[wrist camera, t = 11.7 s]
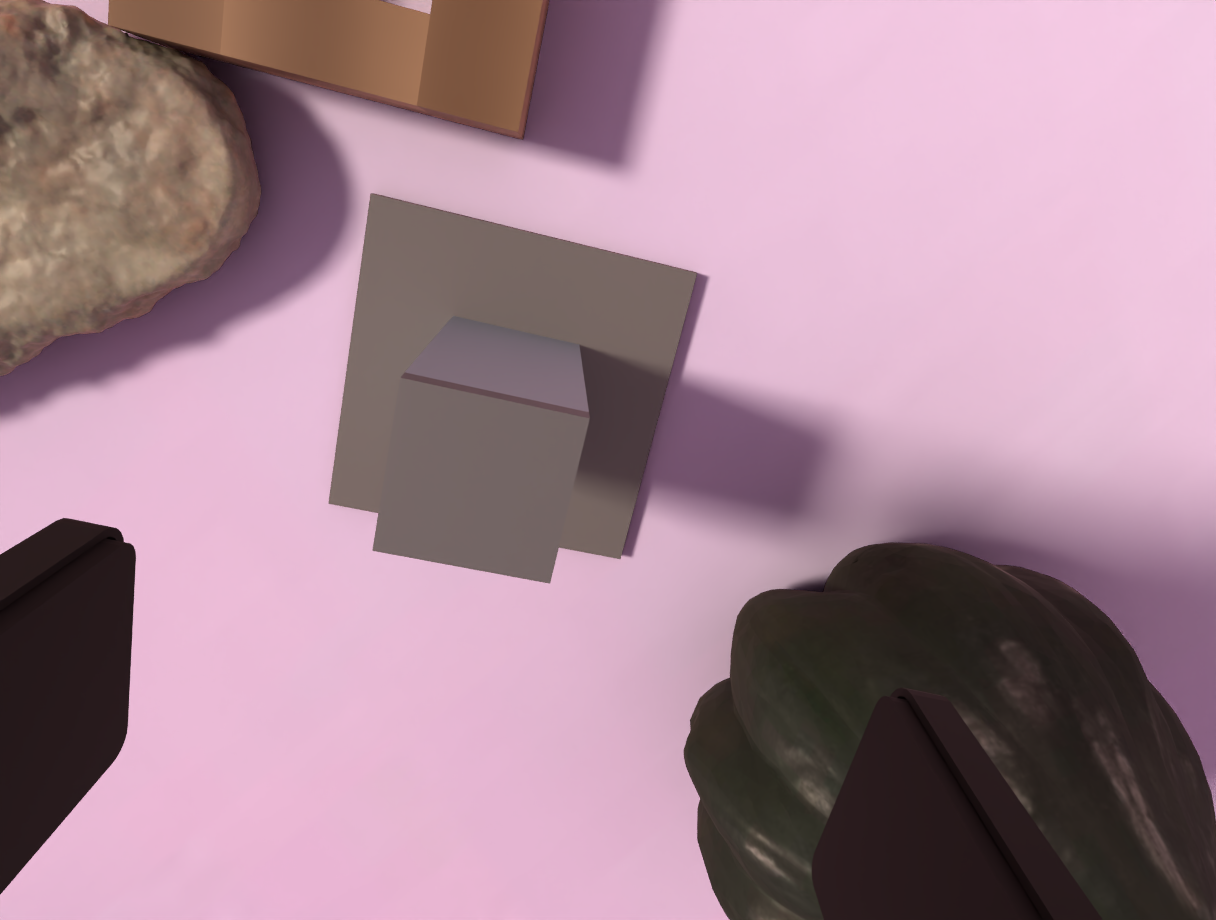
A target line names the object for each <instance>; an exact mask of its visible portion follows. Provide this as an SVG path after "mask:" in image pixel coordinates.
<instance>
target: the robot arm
mask: <svg viewBox="0 0 1216 920" xmlns="http://www.w3.org/2000/svg"><path fill="white" fill-rule="evenodd" d="M135 563H136V554H135V549H134V546H133V545H131V544H130V543H125V542H124V539H123V536H122V534H121V532H120V531H119V530H118V529H117V528H113V527H108V526H103V525H98V524H93V523H88V522H83V521H78V520H73V519H67V518H63V519H60V520H58V521H55V522H54V523H52V524H50V525H49V526H47V527H45V528H44V529H42V530H40V531H39V532H37V533H35V534H34V535H32V536H30V537H29V538H27V539H25V540H24V541H22V542H20V543H19V544H17V545H15V546H14V547H12V548H10V549H9V550H7V551H5V552H4V553H2V554H0V894H1V893H2V892H3V891H4V890H5V888H6V887H7V886H8V885H9V884H10V883H11V881H12V880H13V879H14V878H15V877H16V876H17V874H18V873H19V872H20V871H21V870H22V868H23V867H24V866H25V865H26V864H27V863H28V861H29V860H30V859H31V858H32V857H33V856H34V854H35V853H36V852H37V851H38V850H39V849H40V847H41V846H42V845H43V844H44V843H45V842H46V840H47V839H48V838H49V837H50V836H51V834H52V833H53V832H54V831H55V830H56V829H57V827H58V826H59V825H60V824H61V823H62V822H63V820H64V819H65V818H66V817H67V816H68V815H69V813H70V812H71V811H72V810H73V809H74V808H75V806H76V805H77V804H78V803H79V802H80V801H81V799H82V798H83V797H84V796H85V795H86V793H87V792H88V791H89V790H90V789H91V788H92V786H93V785H94V784H95V783H96V782H97V781H98V779H99V778H100V777H101V776H102V775H103V774H104V772H105V771H106V770H107V769H108V768H109V767H110V765H111V764H112V763H113V762H114V760H115V759H116V757H117V756H118V754H119V752H120V750H121V748H122V746H123V744H124V741H125V738H126V734H127V728H128V708H129V687H130V667H131V646H132V625H133V604H134V584H135ZM812 882H813V886H814V889H815V893H816V896H817V899H818V902H819V905H820V909H821V912H822V915H823V918H824V920H1103V919H1102V918H1101V916H1100V915H1099V913H1098V912H1097V911H1096V909H1095V908H1094V906H1093V905H1092V903H1091V902H1090V901H1089V899H1088V898H1087V896H1086V895H1085V893H1084V892H1083V891H1082V889H1081V888H1080V886H1079V885H1078V883H1077V882H1076V881H1075V879H1074V878H1073V876H1072V875H1071V873H1070V872H1069V871H1068V869H1067V868H1066V866H1065V865H1064V863H1063V862H1062V861H1061V859H1060V858H1059V856H1058V855H1057V853H1056V852H1055V851H1054V849H1053V848H1052V846H1051V845H1050V843H1049V842H1048V841H1047V839H1046V838H1045V836H1044V835H1043V833H1042V832H1041V830H1040V829H1039V828H1038V826H1037V825H1036V823H1035V822H1034V820H1033V819H1032V818H1031V816H1030V815H1029V813H1028V812H1027V810H1026V809H1025V808H1024V806H1023V805H1022V803H1021V802H1020V800H1019V799H1018V798H1017V796H1016V795H1015V793H1014V792H1013V790H1012V789H1011V788H1010V786H1009V785H1008V783H1007V782H1006V780H1005V779H1004V778H1003V776H1002V775H1001V773H1000V772H999V770H998V769H997V768H996V766H995V765H994V763H993V762H992V760H991V759H990V758H989V756H988V755H987V753H986V752H985V750H984V749H983V748H982V746H981V745H980V743H979V742H978V740H977V739H976V738H975V736H974V735H973V733H972V732H971V730H970V729H969V728H968V726H967V725H966V723H965V722H964V720H963V719H962V718H961V716H960V715H959V713H958V712H957V710H956V709H955V708H954V706H953V705H952V703H951V702H950V701H949V700H948V699H947V698H946V697H944V696H941V695H936V694H932V693H927V692H922V691H917V690H912V689H907V688H902V687H901V688H898V689H896V690H895V691H894V692H893V693H892V694H891V696H890V697H889V696H883V697H881V698H880V699H879V700H878V702H877V704H876V705H875V708H874V710H873V712H872V715H871V717H870V720H869V722H868V724H867V727H866V729H865V732H864V734H863V736H862V739H861V741H860V744H859V746H858V749H857V751H856V753H855V756H854V758H853V761H852V763H851V765H850V768H849V770H848V773H847V775H846V777H845V780H844V782H843V785H842V787H841V789H840V792H839V794H838V797H837V799H836V801H835V804H834V806H833V809H832V811H831V813H830V816H829V818H828V821H827V823H826V825H825V828H824V830H823V833H822V835H821V838H820V840H819V842H818V845H817V847H816V850H815V852H814V856H813V860H812Z"/></svg>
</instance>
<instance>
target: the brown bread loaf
mask: <svg viewBox="0 0 1216 920" xmlns="http://www.w3.org/2000/svg"><path fill="white" fill-rule="evenodd" d="M260 196H261V186H260V182H259V179H258V171H257V166H256V163H255V160H254V155H253V151H252V148H251V139H250V137H249V135H248V133H247V130H246V124H245V121H244V117H243V114H242V112H241V110H240V108H239V106H238V104H237V102H236V99H235V96H234V94H233V93H232V91H231V90H230V89H229V88H228V87H227V86H226V85H225V84H224V83H223V82H222V81H221V80H219V79H218V78H216V77H215V76H214V75H213V74H212V73H210V71H209V70H208V69H207V67H206V65H205V64H204V63H202V62H201V61H198V60H195V59H194V58H192V57H190V56H187V55H185V54H182V53H181V52H179V51H178V50H176V49H172V48H166V47H162V46H160V45H157V44H154V43H151V42H148V41H144V40H139V39H135V38H132V37H129V36H128V33H123V32H122V31H121V30H120V29H117V28H115V27H112V26H109V25H107V24H105V23H102V22H99V21H98V20H96V19H94V18H92V17H90V16H89V15H87V14H86V13H85V12H84V11H82V10H81V9H79V8H78V7H76V6H72V5H70V6H69V5H58V4H50V3H47V2H45V1H43V0H0V376H4V375H7V374H9V373H11V372H12V371H13V370H14V369H15V368H16V367H17V366H19V365H21V364H24V363H26V362H28V361H30V360H31V359H32V358H34V357H36V356H38V355H39V354H40V353H41V351H42V350H43V348H44V347H46V346H48V345H50V344H51V343H53V342H54V341H55V340H56V339H58V338H60V337H62V336H70V335H75V334H89V333H100V332H103V331H104V330H105V329H108V328H111V327H113V326H114V325H115V324H117V323H119V322H121V321H122V320H124V319H133V318H138V317H141V316H142V315H144V314H146V313H148V312H150V311H151V310H152V308H153V306H154V305H155V303H156V302H157V301H158V300H160V299H161V298H163V297H164V296H165V295H167V294H168V293H170V292H171V291H172V290H173V289H174V288H179V287H181V286H182V285H184V284H185V283H193V282H196V281H199V280H205V279H207V278H209V277H210V276H211V275H212V274H213V273H214V272H216V271H218V270H219V269H220V268H221V266H222V265H223V263H224V262H225V260H226V259H227V258H228V257H229V256H230V254H231V253H232V252H233V251H235V250H237V249H238V248H239V246H240V241H241V238H242V236H244V235H245V234H246V233H247V231H248V229H249V225H250V223H251V222H252V221H253V219H254V218H255V217H256V216H257V214H258V207H259V205H260Z"/></svg>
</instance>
